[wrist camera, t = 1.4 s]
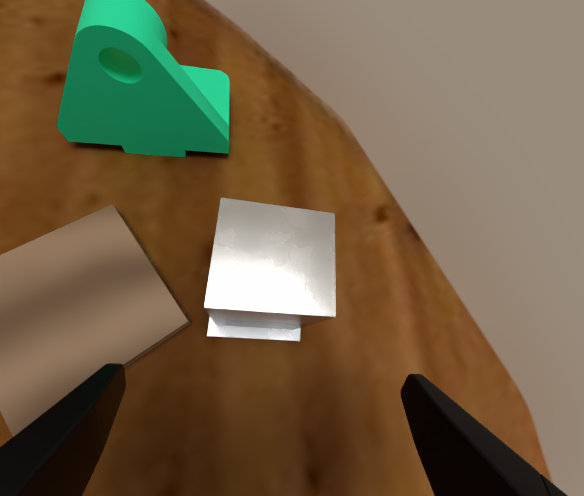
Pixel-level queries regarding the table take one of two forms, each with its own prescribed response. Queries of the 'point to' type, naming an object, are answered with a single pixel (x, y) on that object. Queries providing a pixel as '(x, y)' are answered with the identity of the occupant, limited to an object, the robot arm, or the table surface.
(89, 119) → the camera mount
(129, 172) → the table surface
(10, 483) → the robot arm
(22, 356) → the stand
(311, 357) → the table surface
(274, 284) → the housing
